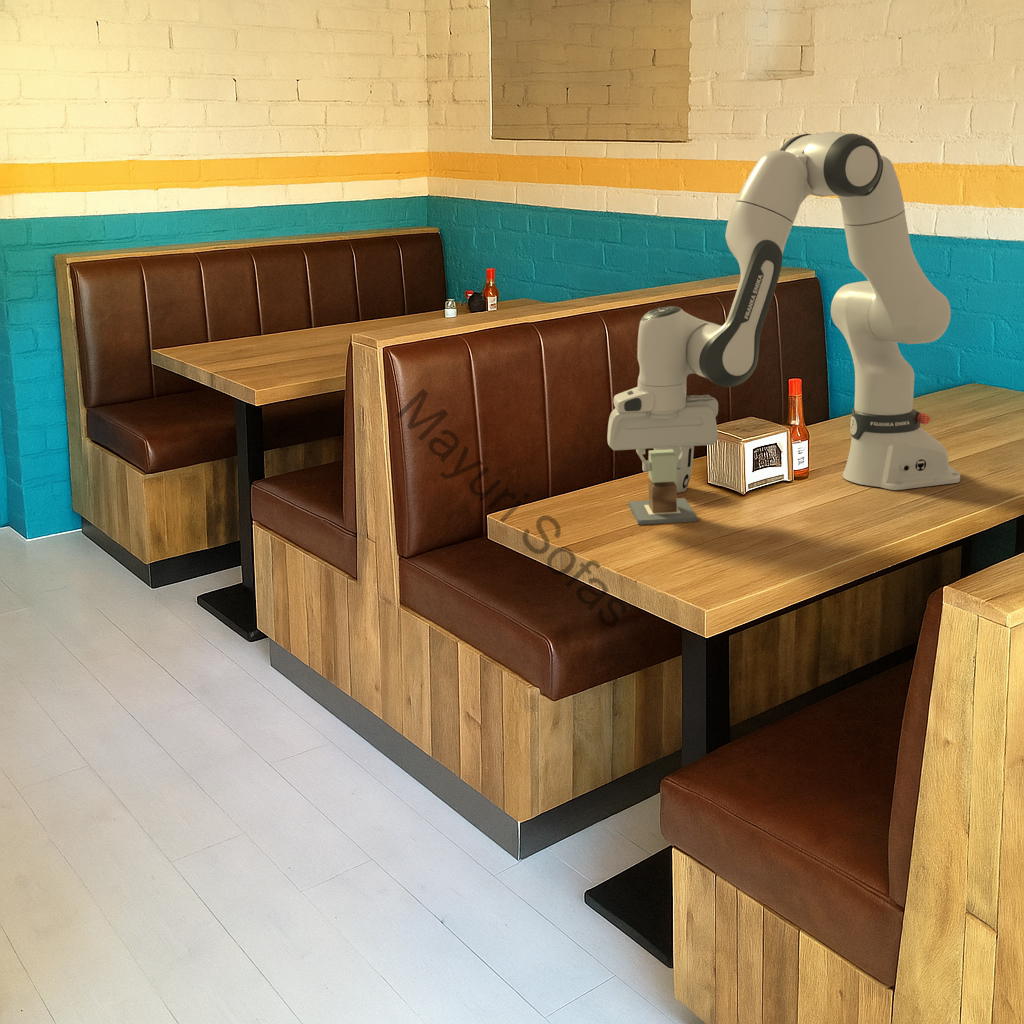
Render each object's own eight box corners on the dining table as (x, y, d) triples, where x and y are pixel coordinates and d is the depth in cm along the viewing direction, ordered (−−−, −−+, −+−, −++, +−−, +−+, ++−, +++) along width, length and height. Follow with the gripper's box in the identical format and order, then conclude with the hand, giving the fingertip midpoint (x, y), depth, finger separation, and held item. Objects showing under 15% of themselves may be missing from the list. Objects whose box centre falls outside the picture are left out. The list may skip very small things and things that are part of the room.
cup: (692, 495, 224) (693, 446, 221) (651, 494, 226) (651, 446, 223) (694, 483, 232) (695, 436, 229) (655, 483, 233) (654, 436, 230)
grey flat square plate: (684, 502, 220) (684, 497, 220) (697, 521, 209) (697, 516, 209) (628, 505, 220) (628, 501, 220) (638, 524, 208) (638, 520, 208)
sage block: (672, 474, 215) (672, 449, 213) (676, 481, 210) (676, 455, 209) (648, 476, 214) (648, 450, 213) (652, 482, 210) (652, 456, 209)
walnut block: (672, 504, 216) (672, 479, 215) (676, 511, 212) (676, 486, 210) (648, 505, 216) (648, 480, 215) (652, 513, 212) (652, 487, 210)
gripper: (714, 390, 211) (713, 462, 215) (605, 396, 210) (606, 468, 215) (722, 397, 205) (721, 471, 209) (609, 403, 204) (611, 477, 208)
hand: (662, 469), depth 212 cm, fingers closed on sage block, 4 cm apart
